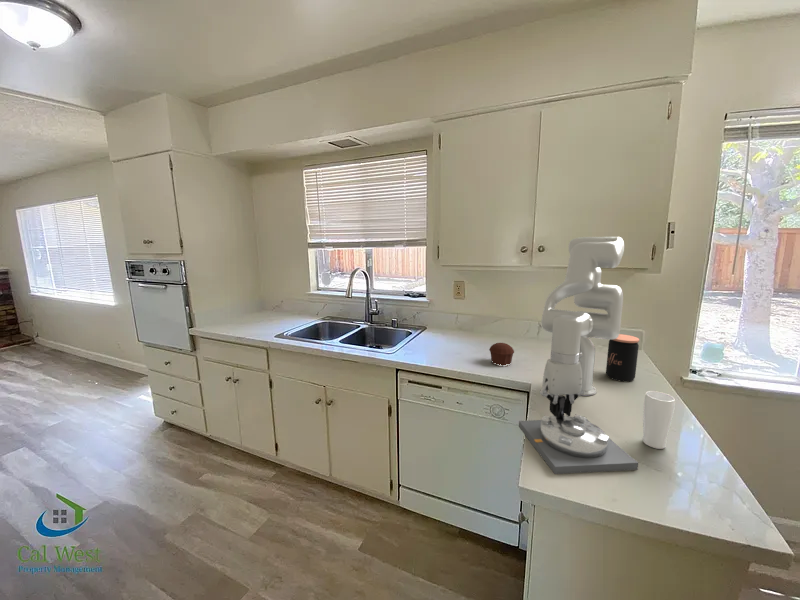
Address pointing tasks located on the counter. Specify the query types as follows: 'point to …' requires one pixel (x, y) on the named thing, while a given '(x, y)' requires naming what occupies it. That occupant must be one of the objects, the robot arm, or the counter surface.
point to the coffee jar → (622, 357)
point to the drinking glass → (657, 418)
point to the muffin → (501, 353)
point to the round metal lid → (573, 434)
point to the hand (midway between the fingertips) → (560, 413)
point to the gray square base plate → (568, 463)
